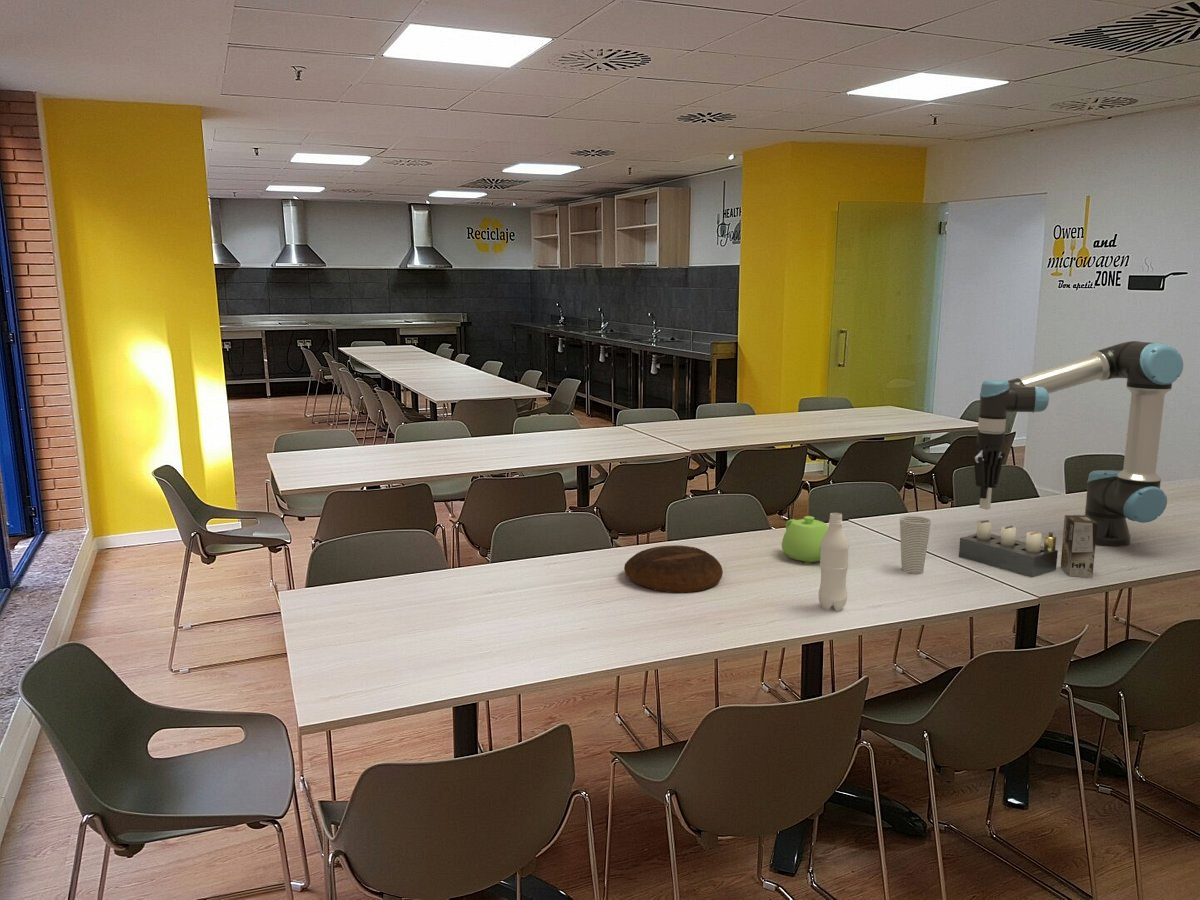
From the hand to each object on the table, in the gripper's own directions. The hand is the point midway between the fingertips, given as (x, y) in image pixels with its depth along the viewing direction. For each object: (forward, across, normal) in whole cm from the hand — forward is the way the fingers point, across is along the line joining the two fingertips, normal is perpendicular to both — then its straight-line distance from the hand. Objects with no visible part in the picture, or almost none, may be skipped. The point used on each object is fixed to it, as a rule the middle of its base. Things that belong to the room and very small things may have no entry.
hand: (984, 508), depth 272 cm
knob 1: (+11, 0, 0) cm, 11 cm away
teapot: (+16, +44, -28) cm, 55 cm away
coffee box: (+15, -9, +25) cm, 30 cm away
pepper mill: (+9, -5, +19) cm, 21 cm away
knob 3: (+11, 0, +16) cm, 19 cm away
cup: (+16, +28, -3) cm, 33 cm away
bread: (+17, +90, -37) cm, 99 cm away
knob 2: (+11, 0, +8) cm, 13 cm away
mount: (+15, 0, +8) cm, 17 cm away
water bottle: (+16, +70, +5) cm, 73 cm away
